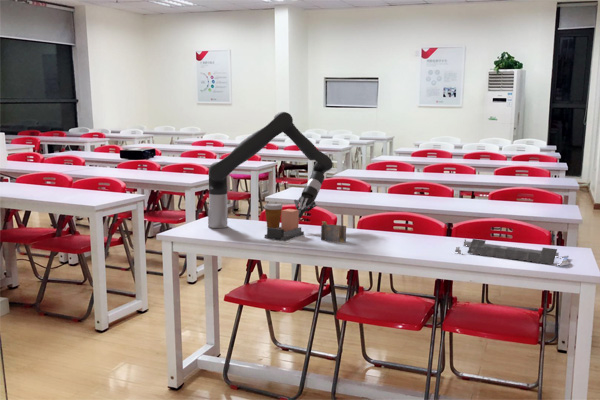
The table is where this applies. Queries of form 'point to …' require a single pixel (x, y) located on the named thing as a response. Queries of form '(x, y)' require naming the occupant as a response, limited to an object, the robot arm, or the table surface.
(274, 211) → the disposable coffee cup
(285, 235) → the rail base
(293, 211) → the salmon pink block
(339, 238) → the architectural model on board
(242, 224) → the table surface
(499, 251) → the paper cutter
